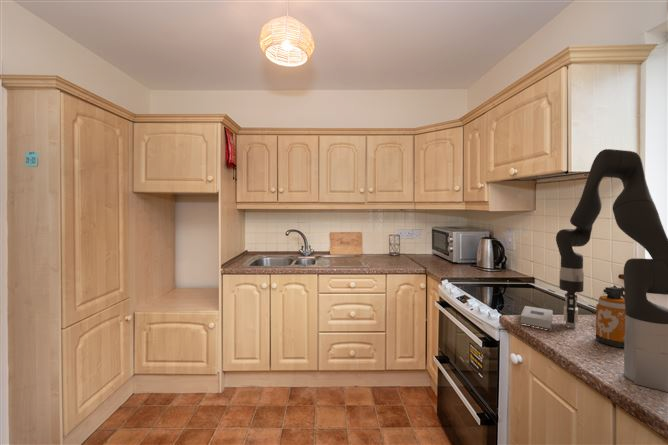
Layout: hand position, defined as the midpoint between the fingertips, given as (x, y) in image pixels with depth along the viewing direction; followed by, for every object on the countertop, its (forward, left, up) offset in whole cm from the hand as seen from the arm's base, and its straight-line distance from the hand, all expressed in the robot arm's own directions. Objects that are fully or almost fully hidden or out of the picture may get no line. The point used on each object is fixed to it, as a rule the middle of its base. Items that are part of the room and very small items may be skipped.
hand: (570, 320), depth 119 cm
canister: (-10, -12, -2) cm, 16 cm away
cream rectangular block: (0, 0, -2) cm, 2 cm away
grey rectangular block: (-3, +11, -2) cm, 12 cm away
